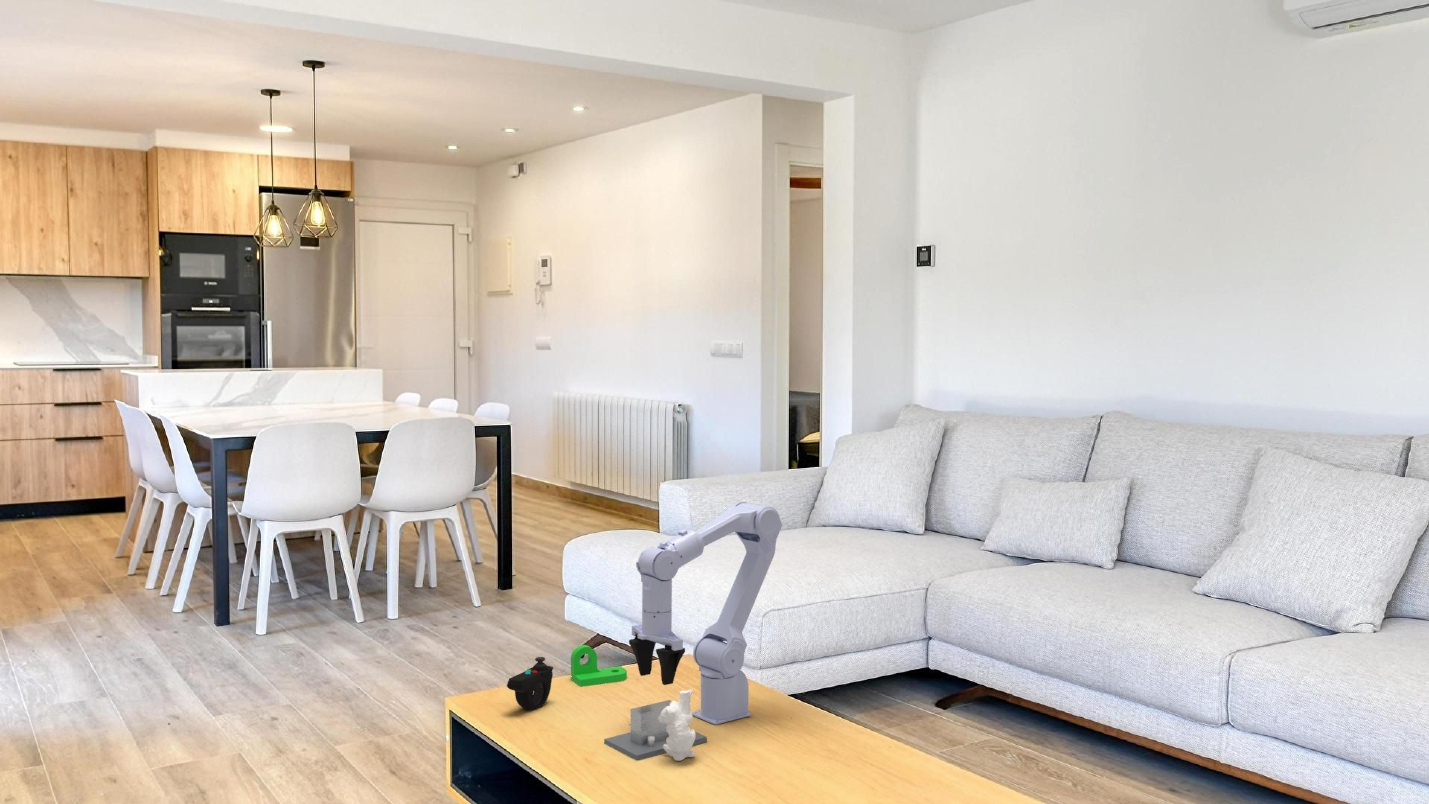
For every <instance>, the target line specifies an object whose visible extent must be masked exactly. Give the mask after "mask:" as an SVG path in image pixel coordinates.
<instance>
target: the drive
mask: <svg viewBox="0 0 1429 804" xmlns="http://www.w3.org/2000/svg"><path fill="white" fill-rule="evenodd" d="M672 701H673V700H670V699H668V700H664V701H660V702H654V703H651V704H650V703H649V704H647V705H642V706H638V707H633V708H630V712H629V713H630V732H631V741H633V742H635V743H637V744H639V745H641V746H642V745H645V744H648V737H649V736H654V737H655V742H657V741H661V740H665V739H667V738H668V737H669V734H668V733H667V731H666V727H667V726H668V725H667V724H665V723H661V722H660V721H659V719H658V718H659V716H660V714H661V712H662V710H663V709H664V708H665V707H667V706H670V703H671V702H672Z"/></svg>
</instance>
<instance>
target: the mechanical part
mask: <svg viewBox="0 0 1429 804" xmlns="http://www.w3.org/2000/svg"><path fill="white" fill-rule="evenodd" d="M584 655H587V657H588V658H587V661H586V662H585V663H581V662H580V661H581V658H582V657H583V656H584ZM571 676H572V677H571ZM627 676H628V670H627V669H625V668H624V667H623V666H621V665H619V666H613V667H605V668H604V667H603V668H599V669H598V654H597V652H596V650H595V649H593V648H592V647H590V646H589V645H586V644H581V645H578V646H577V647H575V648H574V650H572V652H571V656H570V680H571V681H572V682H574V684H576V685H577V686H579V687H580V688H581V687H590V686H596V685H605V683H606V684H612V683H619V682H620V683H621V682H625V681H626V680H627V678H628V677H627Z"/></svg>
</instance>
